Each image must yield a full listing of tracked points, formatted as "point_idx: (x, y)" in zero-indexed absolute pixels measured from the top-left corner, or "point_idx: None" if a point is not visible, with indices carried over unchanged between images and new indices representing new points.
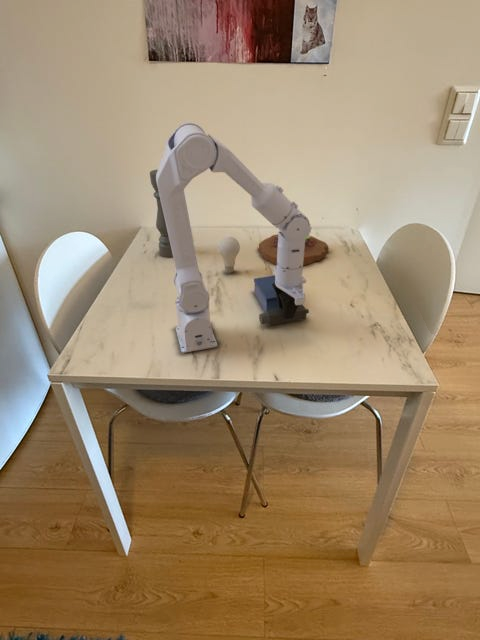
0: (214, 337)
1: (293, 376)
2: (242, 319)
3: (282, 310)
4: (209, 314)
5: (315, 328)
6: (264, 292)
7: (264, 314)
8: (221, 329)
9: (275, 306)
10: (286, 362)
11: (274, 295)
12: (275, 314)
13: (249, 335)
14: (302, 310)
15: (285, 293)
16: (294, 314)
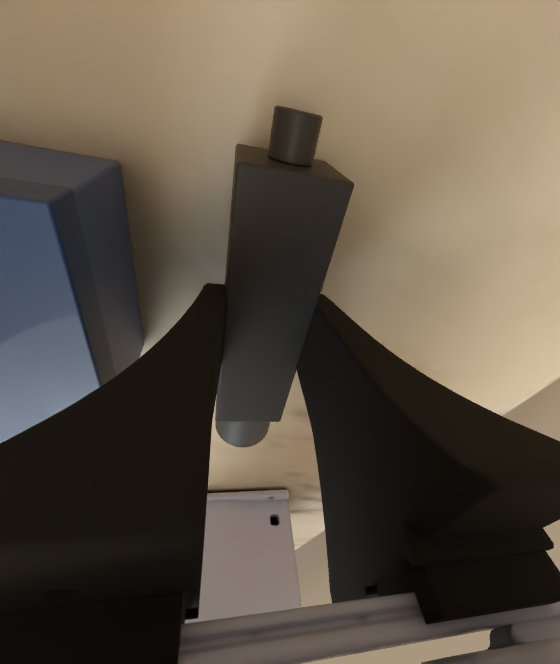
0: (253, 497)
1: (533, 385)
2: None
3: (255, 360)
4: (237, 598)
5: (431, 136)
6: (6, 434)
7: (248, 437)
8: (209, 474)
9: (126, 326)
10: (477, 382)
11: (68, 394)
12: (276, 402)
13: (280, 428)
14: (335, 228)
15: (371, 596)
16: (337, 309)
